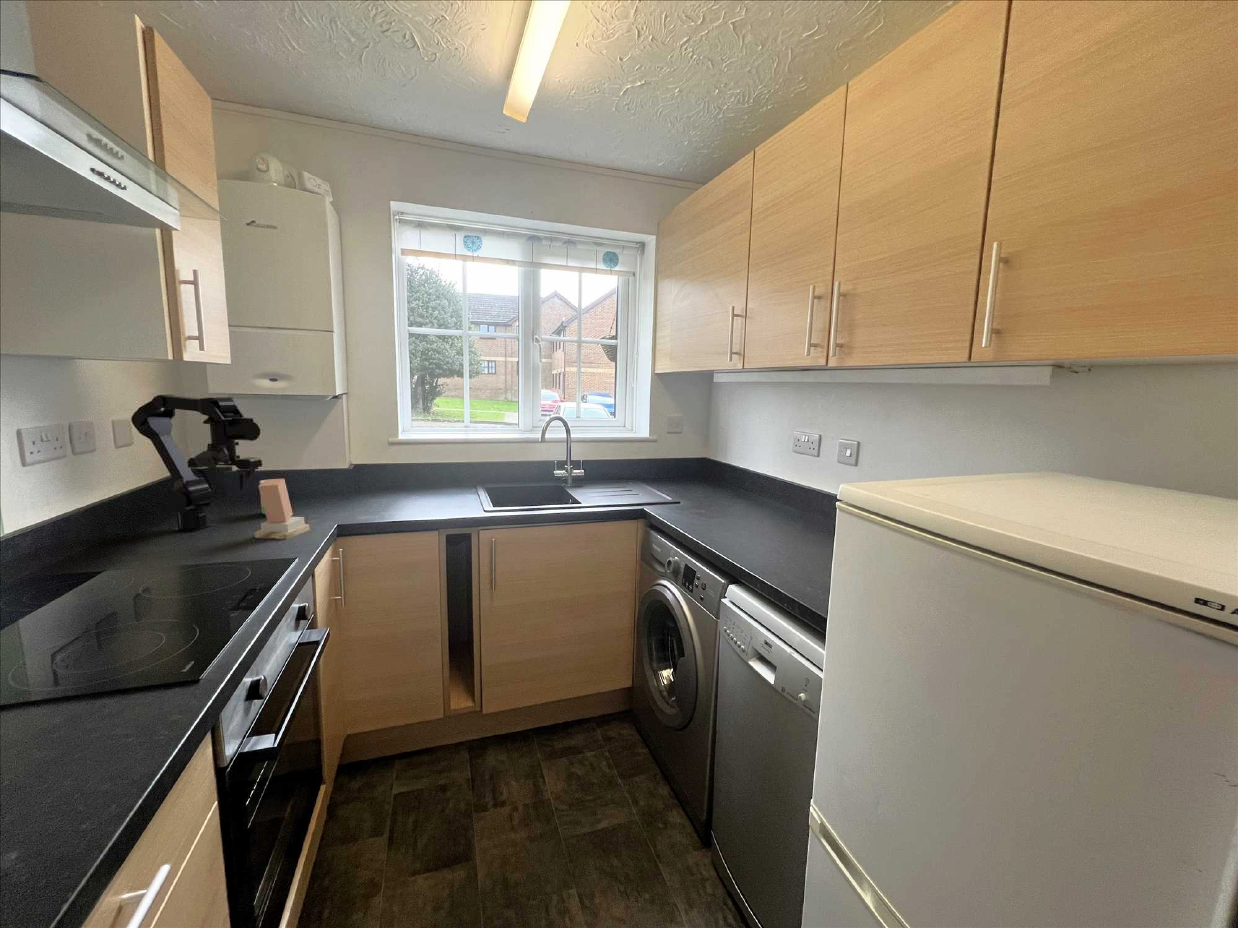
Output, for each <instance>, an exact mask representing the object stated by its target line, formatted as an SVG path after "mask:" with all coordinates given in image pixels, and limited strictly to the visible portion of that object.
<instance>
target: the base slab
mask: <svg viewBox="0 0 1238 928" xmlns="http://www.w3.org/2000/svg"><path fill="white" fill-rule="evenodd" d="M308 531H310V524H307V523H305V525H304V526H301V527H299V528H297V529H294V530H292V531H290V532H264V531H261V529H258V530H256V531H254V538H257V539H271V538H276V539H275V540H289V539H291V538H294V537H296V536H298V535H301V534H304V533H305V532H308ZM300 533H301V534H300ZM288 538H289V539H288Z"/></svg>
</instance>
